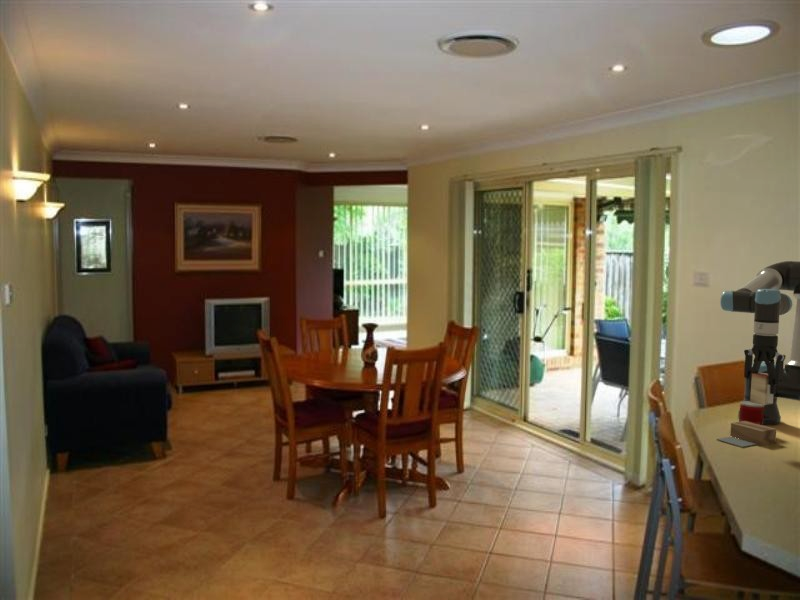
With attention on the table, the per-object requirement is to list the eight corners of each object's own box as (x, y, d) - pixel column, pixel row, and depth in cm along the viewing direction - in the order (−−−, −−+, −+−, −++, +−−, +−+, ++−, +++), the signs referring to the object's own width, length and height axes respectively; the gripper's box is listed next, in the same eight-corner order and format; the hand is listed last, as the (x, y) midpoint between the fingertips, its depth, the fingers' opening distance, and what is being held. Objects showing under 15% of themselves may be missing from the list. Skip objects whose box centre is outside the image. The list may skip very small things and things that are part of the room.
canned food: (765, 435, 249) (767, 406, 248) (741, 433, 251) (743, 404, 250) (758, 430, 257) (760, 401, 256) (736, 428, 258) (737, 400, 257)
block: (759, 400, 236) (760, 372, 235) (772, 403, 232) (774, 375, 231) (750, 402, 234) (751, 373, 233) (763, 405, 229) (765, 376, 228)
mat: (731, 437, 245) (731, 436, 245) (756, 444, 237) (756, 443, 237) (716, 440, 242) (716, 439, 242) (742, 447, 233) (742, 446, 233)
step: (744, 434, 251) (745, 420, 250) (775, 442, 240) (776, 428, 240) (730, 436, 247) (731, 423, 246) (761, 445, 236) (762, 431, 236)
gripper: (734, 331, 236) (730, 396, 239) (785, 338, 221) (780, 408, 223) (747, 330, 240) (743, 394, 242) (798, 337, 224) (794, 405, 226)
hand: (761, 401), depth 232 cm, fingers closed on block, 5 cm apart
